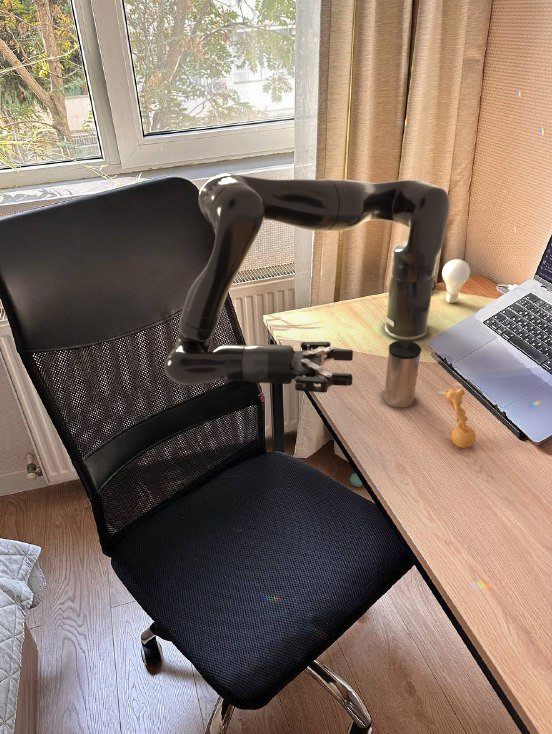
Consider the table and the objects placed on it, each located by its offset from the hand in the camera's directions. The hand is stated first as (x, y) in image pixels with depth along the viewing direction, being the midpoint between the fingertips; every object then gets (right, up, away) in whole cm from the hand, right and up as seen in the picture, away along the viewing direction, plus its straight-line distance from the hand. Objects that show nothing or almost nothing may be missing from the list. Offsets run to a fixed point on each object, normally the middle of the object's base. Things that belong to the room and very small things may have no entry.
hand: (352, 367), depth 111 cm
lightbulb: (+30, +18, +34) cm, 49 cm away
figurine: (+17, -14, -9) cm, 24 cm away
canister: (+10, -6, +3) cm, 12 cm away
